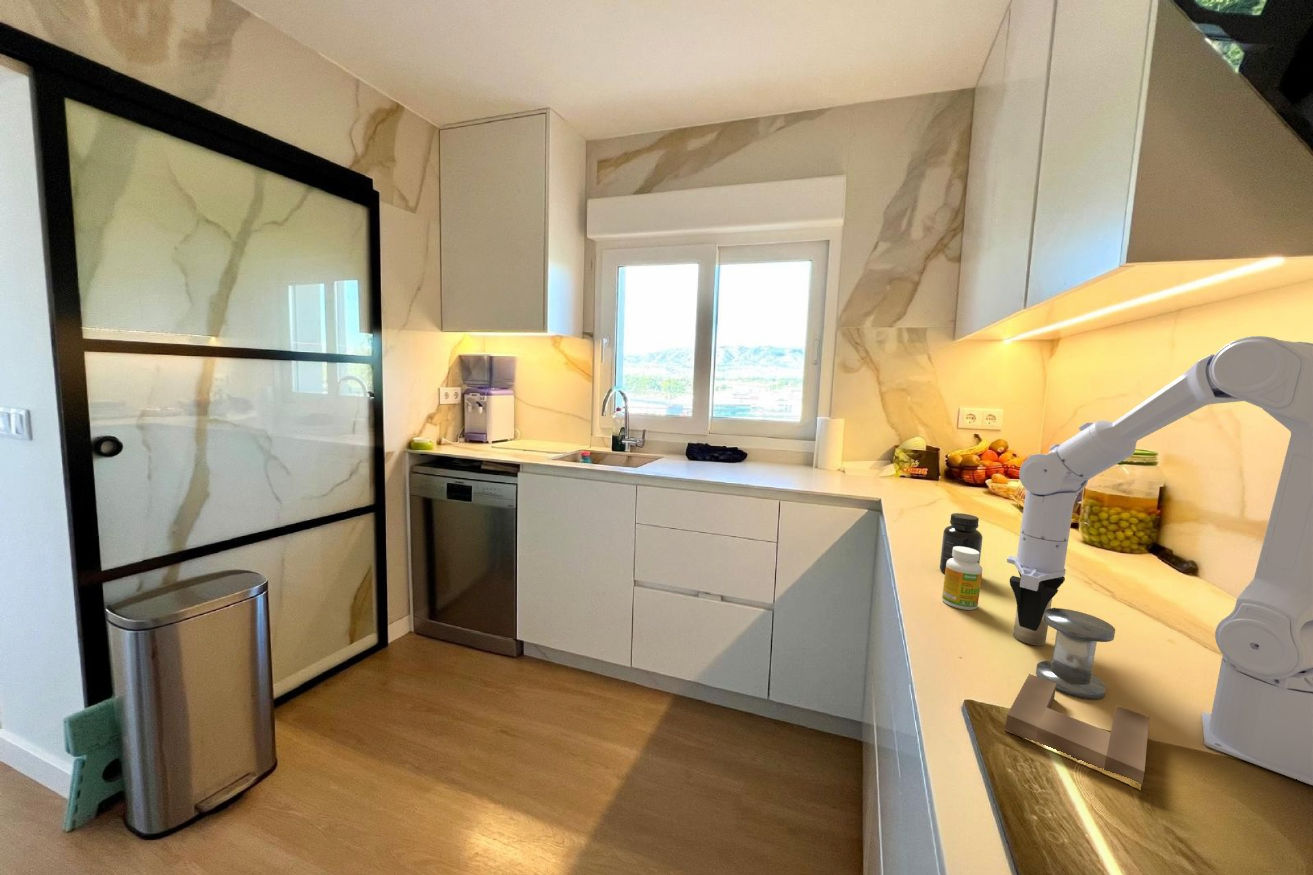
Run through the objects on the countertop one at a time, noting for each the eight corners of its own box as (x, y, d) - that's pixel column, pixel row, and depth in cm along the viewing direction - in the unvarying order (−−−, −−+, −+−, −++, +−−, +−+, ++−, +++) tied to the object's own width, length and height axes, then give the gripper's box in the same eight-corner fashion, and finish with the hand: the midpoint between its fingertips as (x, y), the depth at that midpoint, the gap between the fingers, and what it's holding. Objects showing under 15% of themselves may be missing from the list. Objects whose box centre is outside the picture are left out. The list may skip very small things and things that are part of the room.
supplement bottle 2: (959, 611, 87) (966, 556, 86) (934, 598, 92) (940, 545, 91) (985, 609, 89) (992, 554, 87) (959, 596, 94) (965, 544, 93)
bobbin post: (1107, 684, 67) (1117, 622, 66) (1101, 707, 62) (1112, 640, 61) (1040, 661, 72) (1049, 603, 71) (1031, 680, 67) (1040, 618, 66)
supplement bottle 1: (945, 565, 110) (952, 509, 109) (982, 575, 105) (990, 517, 104) (933, 572, 105) (940, 514, 104) (971, 583, 101) (979, 522, 99)
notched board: (1146, 733, 58) (1149, 717, 58) (1141, 790, 49) (1144, 771, 49) (1027, 688, 65) (1029, 673, 65) (1004, 731, 57) (1007, 714, 57)
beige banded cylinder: (1047, 639, 78) (1055, 588, 78) (1042, 648, 76) (1050, 595, 75) (1016, 629, 81) (1023, 580, 80) (1010, 637, 78) (1017, 586, 78)
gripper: (1021, 521, 85) (1010, 601, 86) (1000, 537, 74) (988, 627, 76) (1076, 531, 80) (1064, 616, 81) (1062, 551, 69) (1047, 647, 71)
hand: (1031, 623), depth 78 cm, fingers closed on beige banded cylinder, 4 cm apart
